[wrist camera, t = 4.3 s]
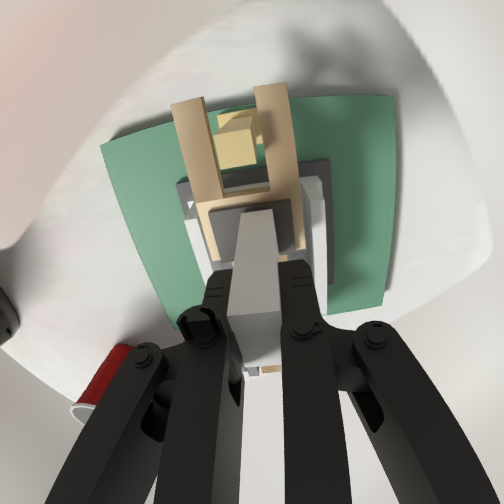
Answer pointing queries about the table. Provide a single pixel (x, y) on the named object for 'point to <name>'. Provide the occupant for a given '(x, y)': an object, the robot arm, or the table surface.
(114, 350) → the plastic cup
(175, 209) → the board
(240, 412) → the robot arm
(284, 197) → the strap
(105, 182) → the table surface
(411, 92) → the table surface
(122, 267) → the table surface
